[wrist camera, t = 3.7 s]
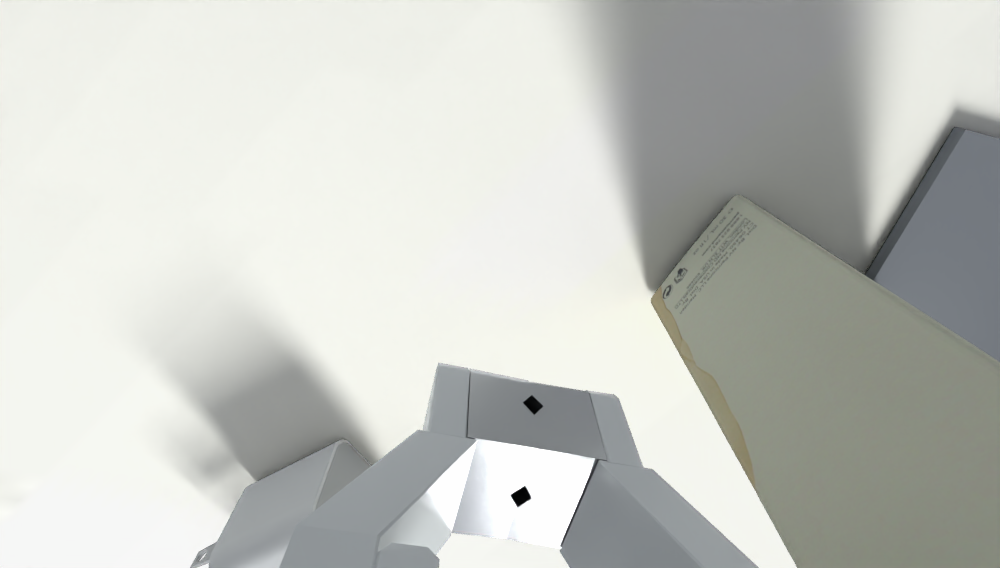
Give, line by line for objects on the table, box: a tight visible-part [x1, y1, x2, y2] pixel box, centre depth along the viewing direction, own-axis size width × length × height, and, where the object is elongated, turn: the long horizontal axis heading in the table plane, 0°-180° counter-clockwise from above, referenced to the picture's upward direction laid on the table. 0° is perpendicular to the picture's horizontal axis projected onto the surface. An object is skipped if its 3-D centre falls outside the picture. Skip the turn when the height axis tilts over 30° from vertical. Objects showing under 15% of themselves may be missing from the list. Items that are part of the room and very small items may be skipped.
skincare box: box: [651, 195, 1000, 568], centre depth 11 cm, size 6×4×12 cm
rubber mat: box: [865, 127, 1000, 362], centre depth 18 cm, size 9×12×1 cm
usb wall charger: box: [190, 440, 371, 568], centre depth 19 cm, size 4×7×4 cm, turn 121°
